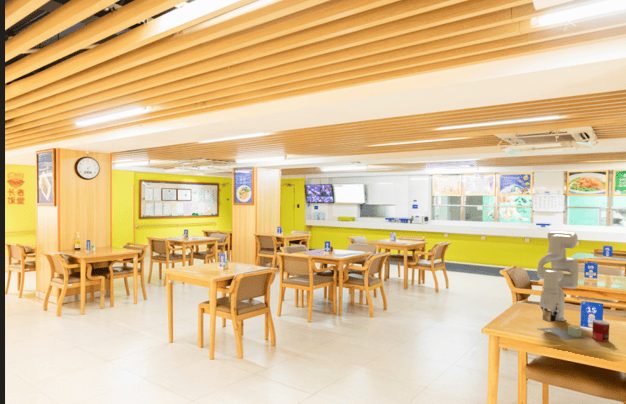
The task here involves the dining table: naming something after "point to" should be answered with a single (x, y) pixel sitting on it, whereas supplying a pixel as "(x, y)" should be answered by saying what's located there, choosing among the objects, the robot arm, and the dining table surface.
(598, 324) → the canned food
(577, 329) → the sage block
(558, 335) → the mat
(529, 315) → the dining table surface
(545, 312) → the oak block
